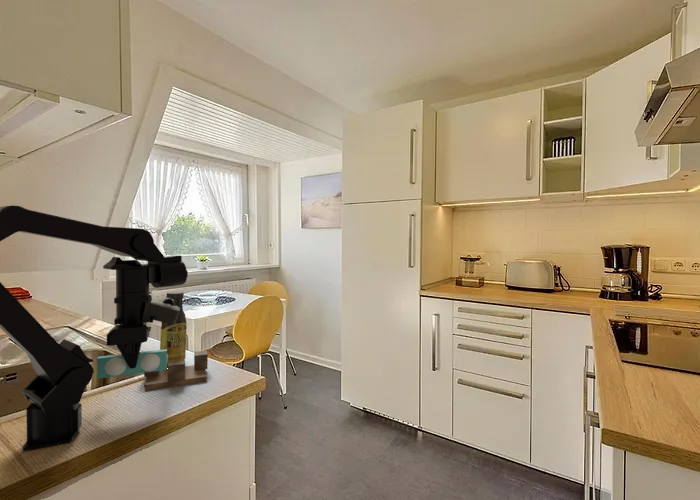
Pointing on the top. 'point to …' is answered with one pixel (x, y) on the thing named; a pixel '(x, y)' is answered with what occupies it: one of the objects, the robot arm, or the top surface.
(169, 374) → the stand
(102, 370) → the glasses
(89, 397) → the top surface
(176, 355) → the sauce bottle
